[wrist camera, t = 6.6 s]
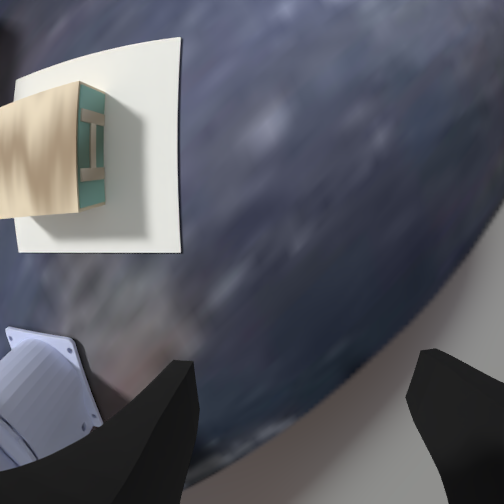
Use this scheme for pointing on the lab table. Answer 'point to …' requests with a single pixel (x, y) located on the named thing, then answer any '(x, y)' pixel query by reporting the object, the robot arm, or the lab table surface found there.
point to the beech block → (52, 152)
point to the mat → (120, 154)
